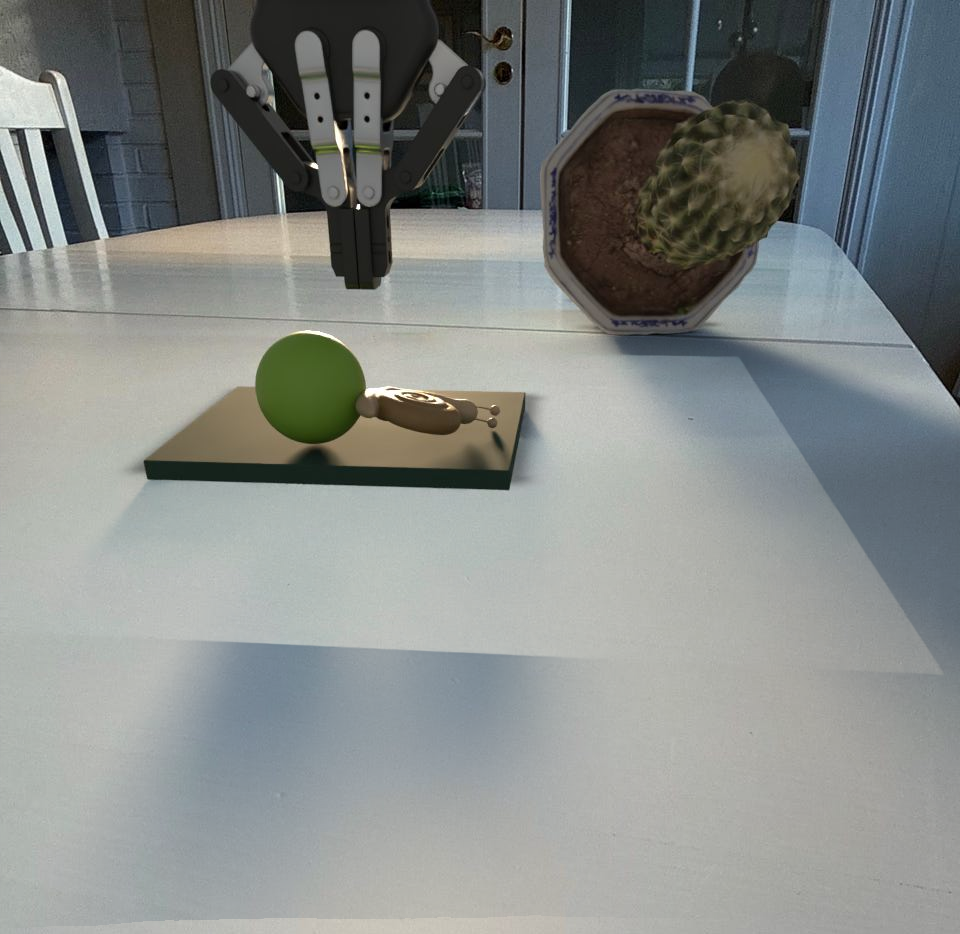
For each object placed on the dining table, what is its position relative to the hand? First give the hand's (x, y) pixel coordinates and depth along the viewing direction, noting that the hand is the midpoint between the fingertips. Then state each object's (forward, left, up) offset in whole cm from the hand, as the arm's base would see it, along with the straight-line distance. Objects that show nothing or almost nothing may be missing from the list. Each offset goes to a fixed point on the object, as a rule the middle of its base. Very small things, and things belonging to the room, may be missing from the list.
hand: (363, 286), depth 45 cm
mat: (-1, 0, -8) cm, 8 cm away
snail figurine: (-5, -3, -4) cm, 7 cm away
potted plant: (+17, +29, -8) cm, 35 cm away
